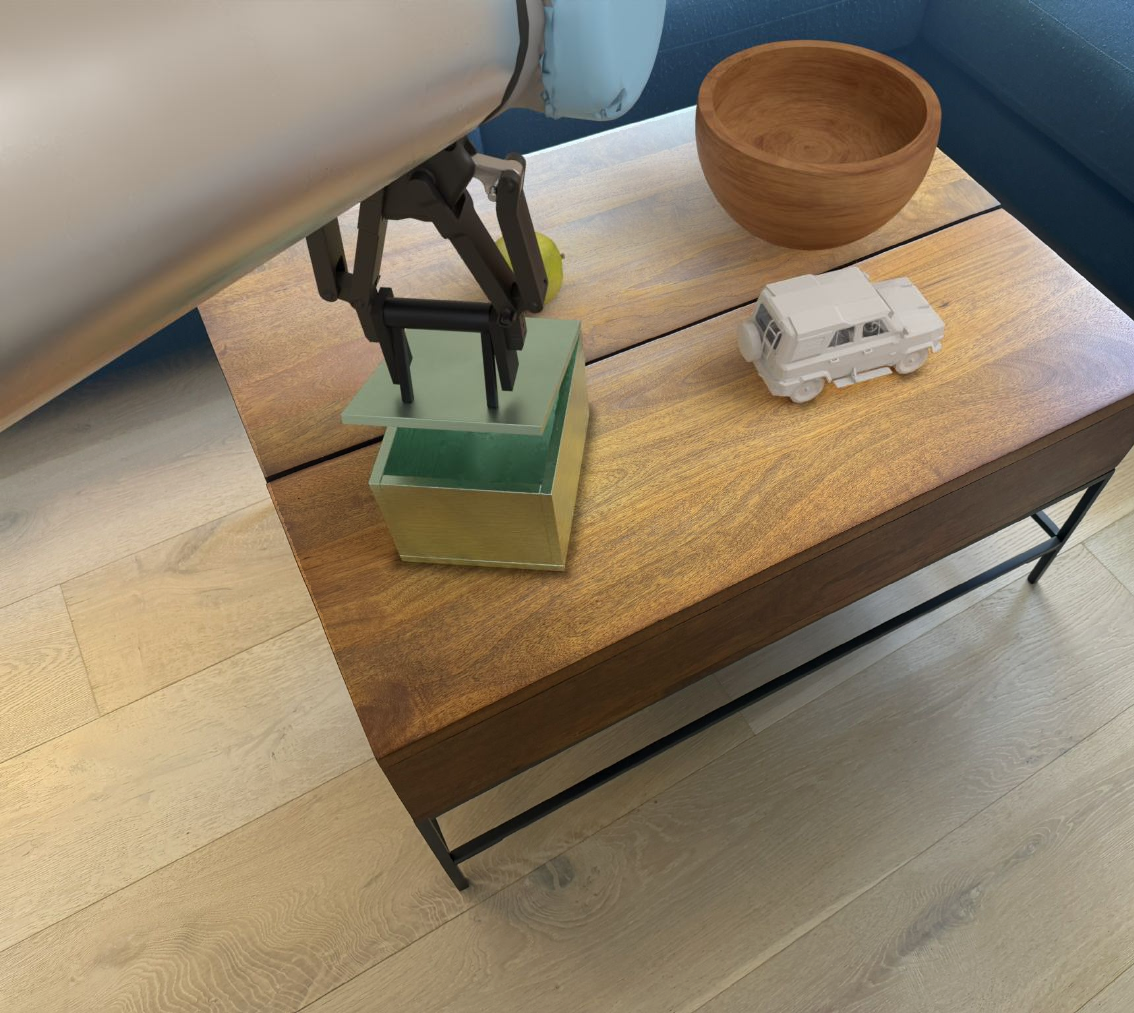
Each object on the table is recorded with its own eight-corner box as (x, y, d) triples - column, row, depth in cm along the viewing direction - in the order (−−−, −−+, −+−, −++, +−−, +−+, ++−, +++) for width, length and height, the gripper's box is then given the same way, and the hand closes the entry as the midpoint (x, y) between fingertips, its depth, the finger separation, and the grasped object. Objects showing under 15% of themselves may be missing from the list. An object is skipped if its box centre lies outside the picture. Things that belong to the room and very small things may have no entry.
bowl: (675, 170, 109) (677, 46, 97) (873, 154, 111) (900, 31, 99) (713, 309, 94) (721, 184, 82) (939, 287, 97) (980, 163, 85)
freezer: (564, 571, 75) (551, 494, 66) (401, 561, 76) (367, 483, 67) (589, 413, 86) (581, 328, 77) (446, 405, 86) (422, 319, 77)
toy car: (947, 372, 90) (976, 294, 81) (764, 424, 85) (775, 347, 77) (897, 307, 95) (920, 228, 87) (723, 352, 91) (730, 274, 83)
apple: (585, 300, 95) (580, 238, 88) (515, 340, 91) (504, 278, 85) (541, 264, 98) (533, 201, 92) (472, 301, 95) (458, 238, 88)
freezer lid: (542, 436, 61) (536, 321, 56) (342, 424, 61) (320, 309, 57) (581, 328, 77) (579, 231, 72) (422, 319, 77) (409, 222, 72)
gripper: (580, 27, 47) (601, 345, 66) (209, 9, 48) (334, 330, 67) (560, 104, 43) (589, 421, 62) (152, 83, 44) (302, 404, 62)
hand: (456, 373), depth 64 cm, fingers closed on freezer lid, 7 cm apart
